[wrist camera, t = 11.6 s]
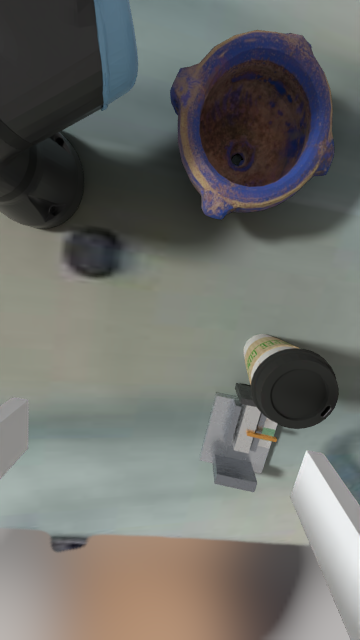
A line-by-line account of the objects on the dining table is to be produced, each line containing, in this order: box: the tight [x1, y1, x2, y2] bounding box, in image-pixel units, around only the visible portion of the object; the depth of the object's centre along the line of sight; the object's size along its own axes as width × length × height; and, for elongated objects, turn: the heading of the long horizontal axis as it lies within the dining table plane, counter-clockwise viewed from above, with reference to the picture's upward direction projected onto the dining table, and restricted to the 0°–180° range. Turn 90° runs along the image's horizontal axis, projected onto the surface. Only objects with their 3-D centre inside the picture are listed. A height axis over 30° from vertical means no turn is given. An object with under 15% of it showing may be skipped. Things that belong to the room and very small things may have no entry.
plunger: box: [232, 383, 277, 453], centre depth 40 cm, size 11×8×5 cm
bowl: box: [170, 30, 334, 220], centre depth 30 cm, size 18×18×10 cm
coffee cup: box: [244, 334, 339, 429], centre depth 33 cm, size 10×10×15 cm
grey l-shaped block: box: [200, 392, 277, 492], centre depth 41 cm, size 14×12×6 cm
